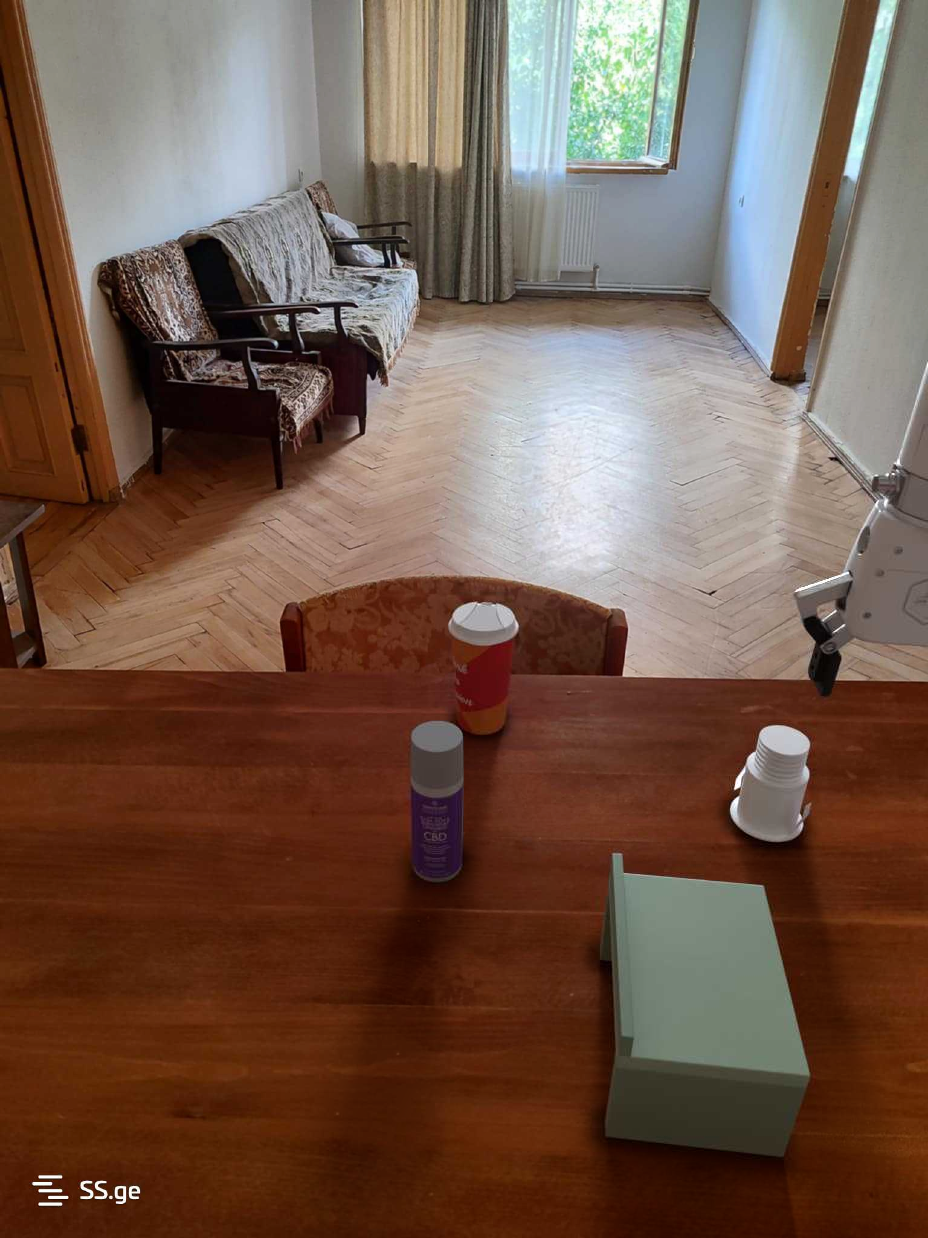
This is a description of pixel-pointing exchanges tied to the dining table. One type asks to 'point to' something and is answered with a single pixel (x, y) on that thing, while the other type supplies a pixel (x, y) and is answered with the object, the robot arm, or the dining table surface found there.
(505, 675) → the paper cup
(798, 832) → the downlight
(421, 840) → the container
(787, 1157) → the dining table surface
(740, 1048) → the green ledge block
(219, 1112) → the dining table surface
